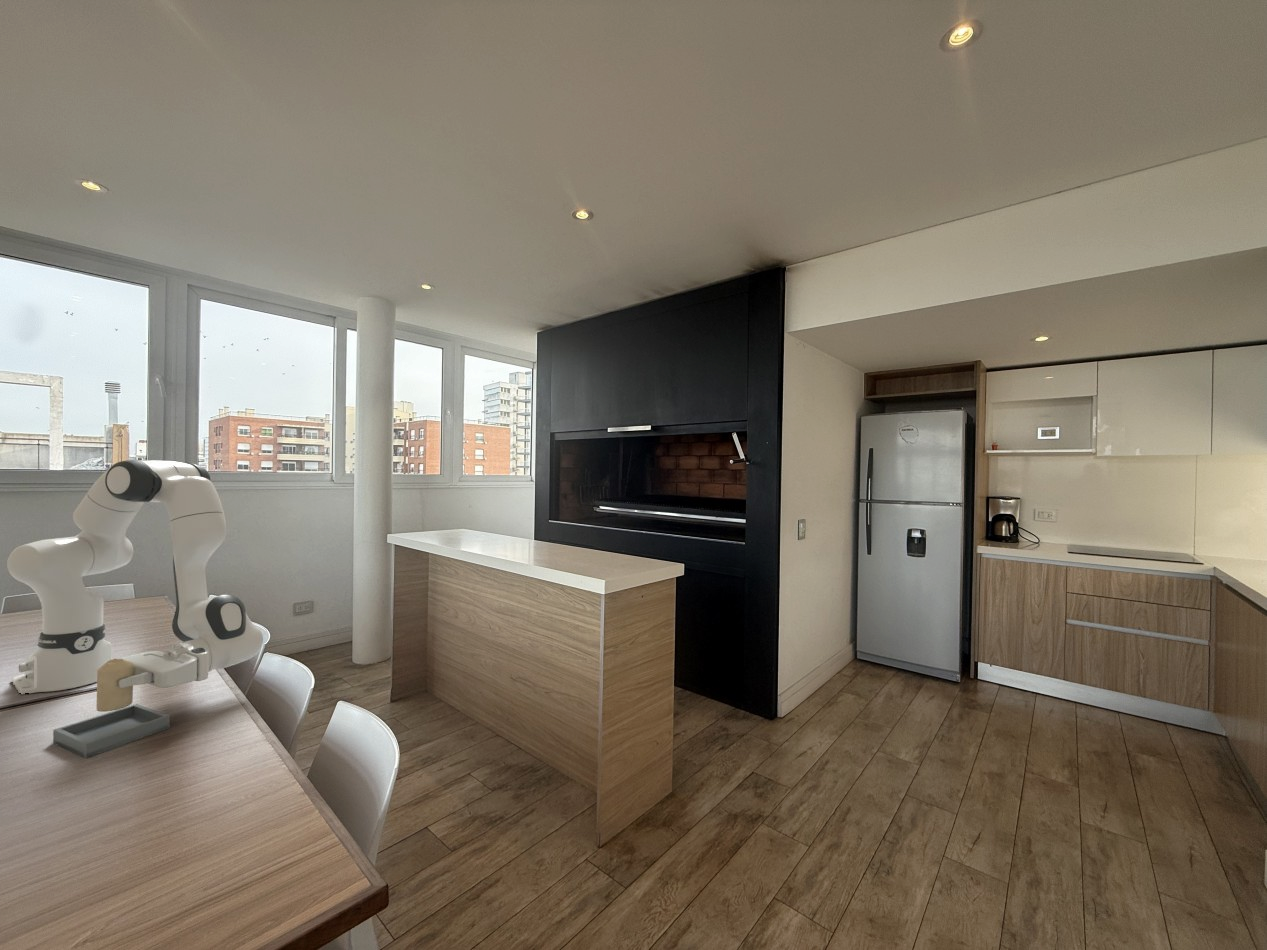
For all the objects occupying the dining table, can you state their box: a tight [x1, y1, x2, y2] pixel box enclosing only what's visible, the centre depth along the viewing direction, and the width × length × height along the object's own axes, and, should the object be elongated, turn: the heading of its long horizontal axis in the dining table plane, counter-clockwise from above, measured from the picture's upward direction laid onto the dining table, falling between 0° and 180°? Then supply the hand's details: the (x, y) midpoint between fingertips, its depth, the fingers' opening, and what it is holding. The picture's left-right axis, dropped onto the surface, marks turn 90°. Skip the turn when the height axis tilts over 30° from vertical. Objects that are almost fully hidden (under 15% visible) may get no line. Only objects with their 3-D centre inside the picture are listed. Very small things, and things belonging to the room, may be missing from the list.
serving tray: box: [52, 703, 171, 759], centre depth 111 cm, size 14×14×3 cm
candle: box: [96, 658, 134, 713], centre depth 111 cm, size 6×6×10 cm
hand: (109, 681), depth 110 cm, fingers closed on candle, 5 cm apart
